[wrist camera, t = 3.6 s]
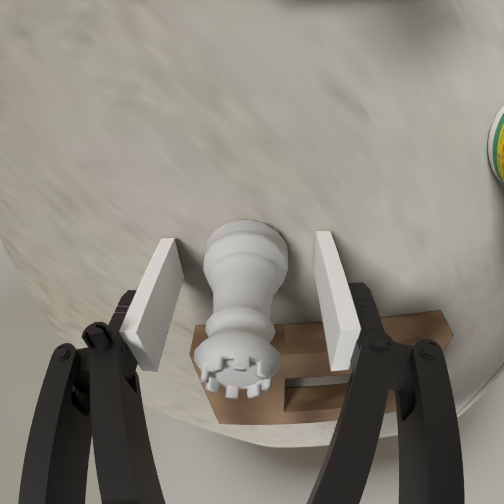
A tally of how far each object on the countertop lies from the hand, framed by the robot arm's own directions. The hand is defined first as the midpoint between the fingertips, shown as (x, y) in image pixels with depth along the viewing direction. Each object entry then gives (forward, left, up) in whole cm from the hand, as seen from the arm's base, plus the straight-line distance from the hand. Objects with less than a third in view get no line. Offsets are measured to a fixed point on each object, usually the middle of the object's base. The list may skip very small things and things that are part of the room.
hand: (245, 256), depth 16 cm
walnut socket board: (-5, +12, 0) cm, 13 cm away
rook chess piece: (0, 0, 0) cm, 0 cm away
